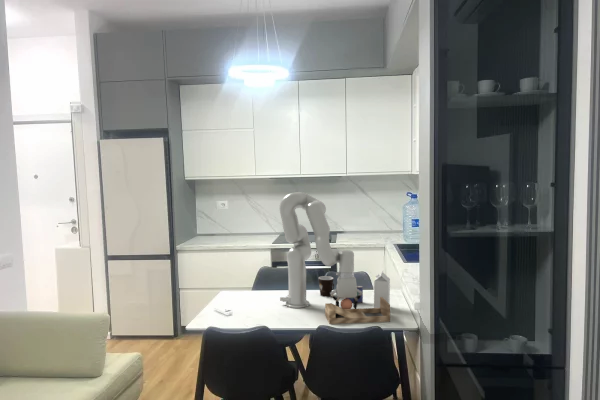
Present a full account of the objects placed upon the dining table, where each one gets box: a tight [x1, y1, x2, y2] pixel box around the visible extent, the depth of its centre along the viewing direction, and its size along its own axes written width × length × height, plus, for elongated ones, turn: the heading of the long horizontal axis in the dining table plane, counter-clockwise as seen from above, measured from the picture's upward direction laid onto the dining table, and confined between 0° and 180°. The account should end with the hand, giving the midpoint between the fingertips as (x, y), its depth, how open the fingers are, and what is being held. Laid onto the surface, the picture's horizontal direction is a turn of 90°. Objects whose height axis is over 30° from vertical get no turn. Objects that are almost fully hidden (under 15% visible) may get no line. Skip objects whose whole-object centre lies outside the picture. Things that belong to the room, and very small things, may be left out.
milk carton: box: [373, 270, 391, 308], centre depth 215 cm, size 7×7×19 cm
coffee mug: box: [318, 275, 335, 298], centre depth 237 cm, size 12×9×10 cm
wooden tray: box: [324, 297, 391, 325], centre depth 201 cm, size 29×13×8 cm, turn 96°
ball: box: [340, 298, 353, 309], centre depth 212 cm, size 6×6×6 cm
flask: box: [347, 285, 364, 304], centre depth 225 cm, size 9×3×11 cm, turn 87°
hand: (346, 308), depth 212 cm, fingers open, 8 cm apart
